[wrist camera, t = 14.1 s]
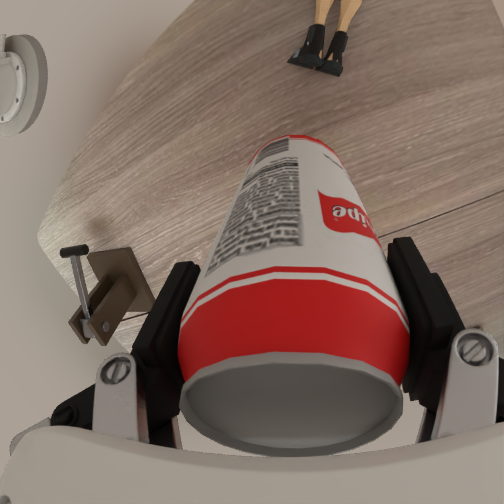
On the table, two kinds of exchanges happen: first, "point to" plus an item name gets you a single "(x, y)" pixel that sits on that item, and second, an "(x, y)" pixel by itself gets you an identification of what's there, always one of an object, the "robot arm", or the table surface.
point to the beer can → (294, 315)
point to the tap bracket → (113, 294)
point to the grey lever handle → (80, 282)
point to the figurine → (315, 39)
